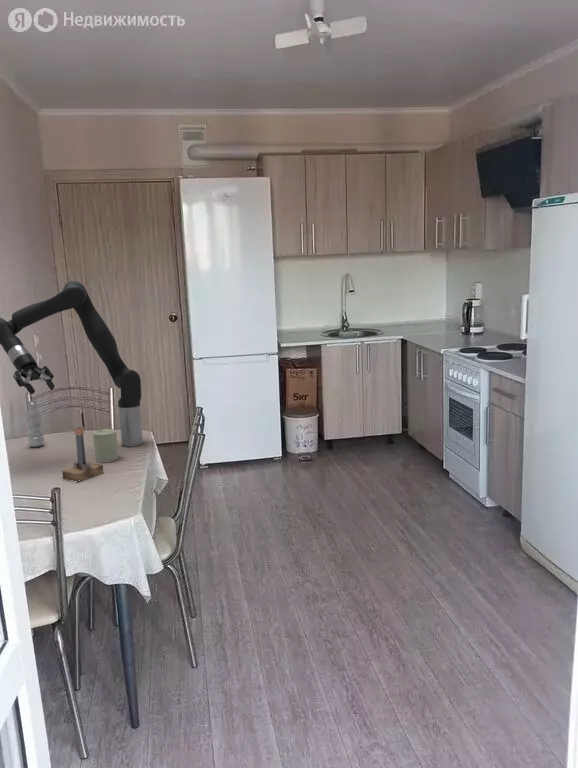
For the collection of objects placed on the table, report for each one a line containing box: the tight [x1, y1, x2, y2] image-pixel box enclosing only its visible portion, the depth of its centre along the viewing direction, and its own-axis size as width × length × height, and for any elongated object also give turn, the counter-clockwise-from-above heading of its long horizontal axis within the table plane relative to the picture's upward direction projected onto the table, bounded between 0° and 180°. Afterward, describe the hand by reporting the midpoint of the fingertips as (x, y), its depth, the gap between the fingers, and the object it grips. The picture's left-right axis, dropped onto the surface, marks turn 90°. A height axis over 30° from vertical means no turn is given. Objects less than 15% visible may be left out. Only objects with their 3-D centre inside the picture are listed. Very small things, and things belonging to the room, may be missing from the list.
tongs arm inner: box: [76, 426, 87, 464], centre depth 232 cm, size 1×3×15 cm, turn 57°
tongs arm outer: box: [74, 427, 84, 468], centre depth 231 cm, size 1×3×15 cm, turn 56°
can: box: [92, 428, 120, 463], centre depth 252 cm, size 9×9×12 cm
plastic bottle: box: [25, 400, 45, 448], centre depth 272 cm, size 6×7×20 cm
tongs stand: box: [61, 461, 104, 482], centre depth 233 cm, size 12×8×5 cm, turn 147°
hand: (43, 390), depth 239 cm, fingers open, 8 cm apart
